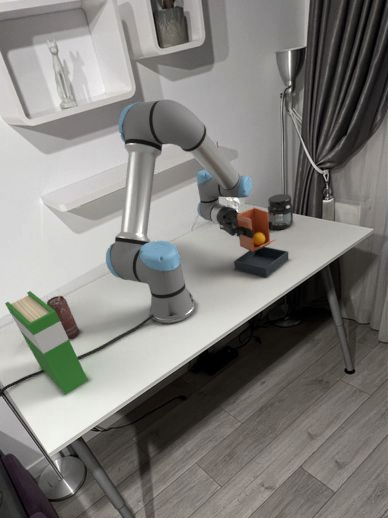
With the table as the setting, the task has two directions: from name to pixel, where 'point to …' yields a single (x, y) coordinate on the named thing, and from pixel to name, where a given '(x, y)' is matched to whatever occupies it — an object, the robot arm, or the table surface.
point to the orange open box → (254, 227)
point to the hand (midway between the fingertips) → (262, 230)
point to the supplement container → (280, 211)
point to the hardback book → (48, 341)
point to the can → (64, 316)
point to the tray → (261, 261)
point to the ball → (258, 238)
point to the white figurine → (232, 203)
